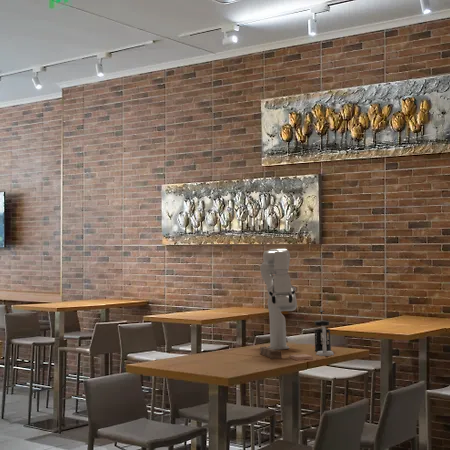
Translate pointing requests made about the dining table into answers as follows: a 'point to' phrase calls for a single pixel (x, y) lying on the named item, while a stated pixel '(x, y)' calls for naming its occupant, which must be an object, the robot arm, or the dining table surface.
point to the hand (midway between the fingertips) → (282, 303)
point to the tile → (301, 357)
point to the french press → (318, 333)
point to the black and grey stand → (324, 346)
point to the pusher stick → (270, 353)
